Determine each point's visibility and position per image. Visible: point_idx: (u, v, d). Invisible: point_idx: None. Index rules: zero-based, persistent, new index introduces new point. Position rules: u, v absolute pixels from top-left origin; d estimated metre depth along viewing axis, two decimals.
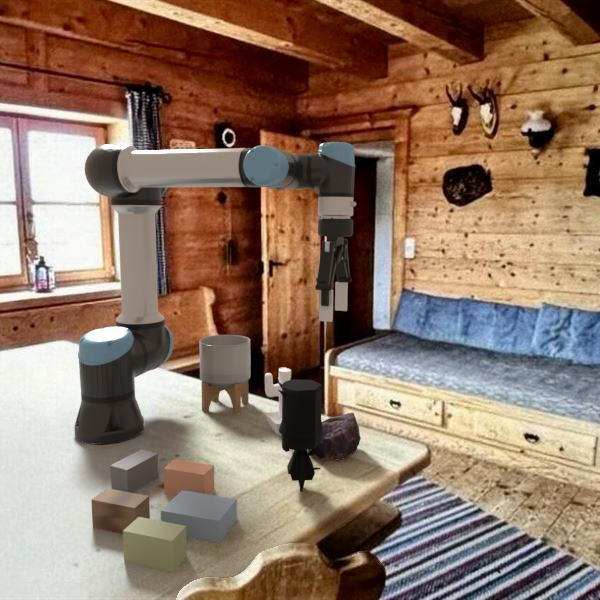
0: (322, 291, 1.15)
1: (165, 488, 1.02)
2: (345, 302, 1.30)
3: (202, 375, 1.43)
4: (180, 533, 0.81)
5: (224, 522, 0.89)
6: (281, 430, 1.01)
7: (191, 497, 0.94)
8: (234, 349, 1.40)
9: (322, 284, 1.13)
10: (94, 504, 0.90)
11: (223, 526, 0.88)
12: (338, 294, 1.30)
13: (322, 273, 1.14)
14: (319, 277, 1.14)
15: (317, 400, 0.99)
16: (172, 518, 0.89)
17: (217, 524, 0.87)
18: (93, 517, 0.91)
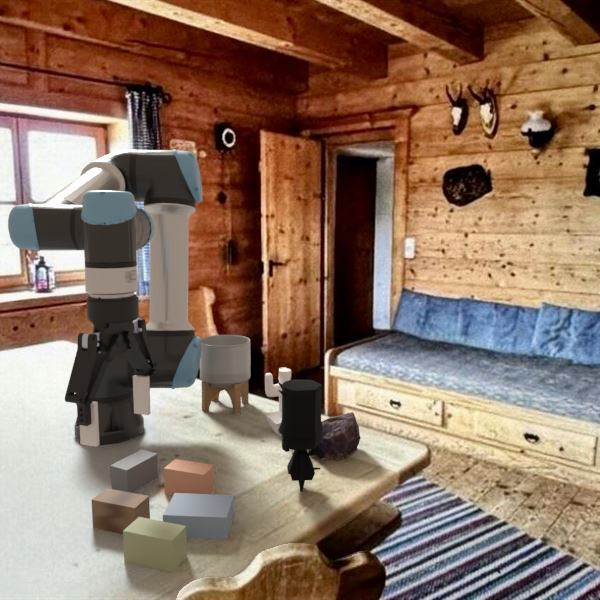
0: (78, 405, 0.80)
1: (165, 488, 1.02)
2: (146, 403, 0.94)
3: (202, 375, 1.43)
4: (180, 533, 0.81)
5: (228, 518, 0.90)
6: (281, 430, 1.01)
7: (187, 498, 0.93)
8: (234, 349, 1.40)
9: (72, 398, 0.78)
10: (94, 504, 0.90)
11: (228, 522, 0.89)
12: (137, 392, 0.95)
13: (74, 381, 0.79)
14: (69, 387, 0.79)
15: (317, 400, 0.99)
16: (175, 521, 0.88)
17: (225, 521, 0.88)
18: (93, 517, 0.91)
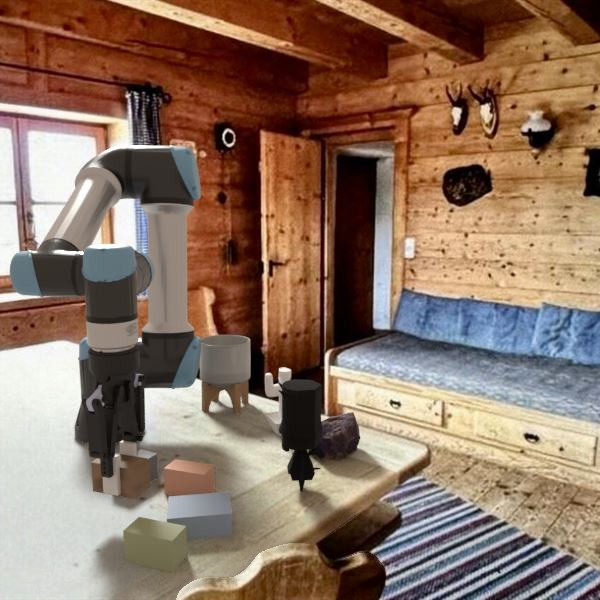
0: (101, 459, 0.87)
1: (165, 488, 1.02)
2: None
3: (202, 375, 1.43)
4: (180, 533, 0.81)
5: None
6: (281, 430, 1.01)
7: (184, 500, 0.93)
8: (234, 349, 1.40)
9: (96, 456, 0.85)
10: (94, 467, 0.90)
11: None
12: None
13: (93, 442, 0.84)
14: (90, 446, 0.84)
15: (317, 400, 0.99)
16: (180, 523, 0.88)
17: (230, 517, 0.89)
18: (93, 480, 0.90)
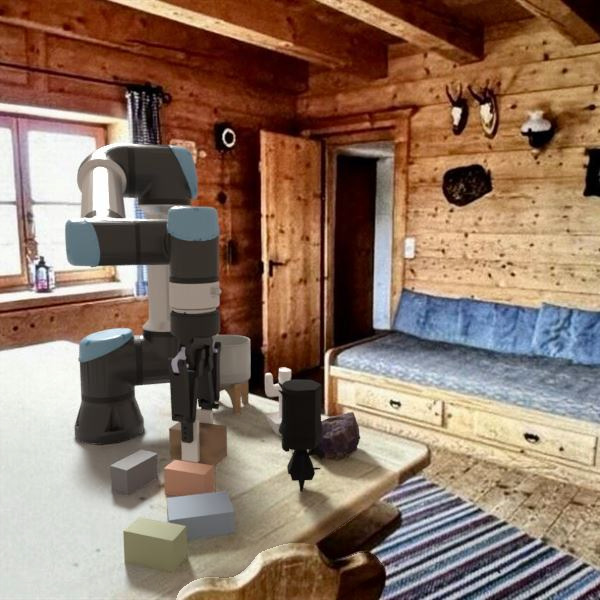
0: (182, 424, 0.85)
1: (165, 488, 1.02)
2: None
3: None
4: (180, 533, 0.81)
5: None
6: (281, 430, 1.01)
7: (183, 501, 0.92)
8: (234, 349, 1.40)
9: (179, 419, 0.83)
10: (172, 433, 0.88)
11: None
12: None
13: (176, 405, 0.83)
14: (173, 409, 0.83)
15: (317, 400, 0.99)
16: (182, 524, 0.87)
17: (232, 515, 0.89)
18: (170, 447, 0.89)
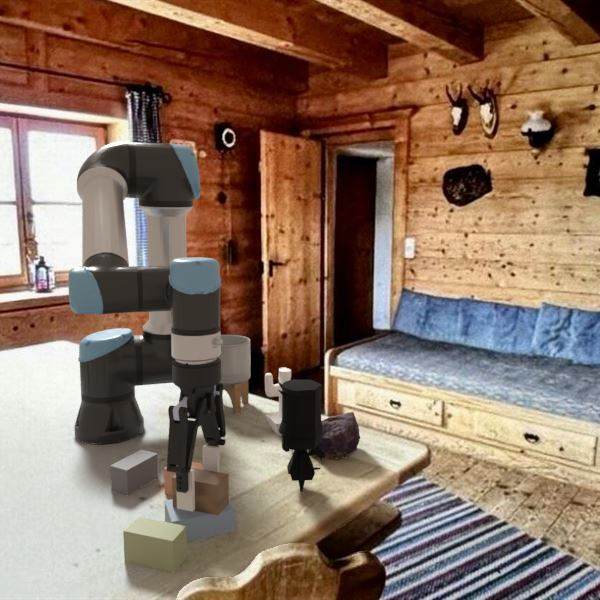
0: (177, 473, 0.85)
1: (165, 488, 1.02)
2: None
3: None
4: (180, 533, 0.81)
5: None
6: (281, 430, 1.01)
7: None
8: (234, 349, 1.40)
9: (173, 469, 0.83)
10: (175, 482, 0.90)
11: None
12: (207, 462, 0.94)
13: (173, 454, 0.83)
14: (169, 459, 0.83)
15: (317, 400, 0.99)
16: (184, 525, 0.87)
17: (234, 513, 0.90)
18: (173, 495, 0.90)
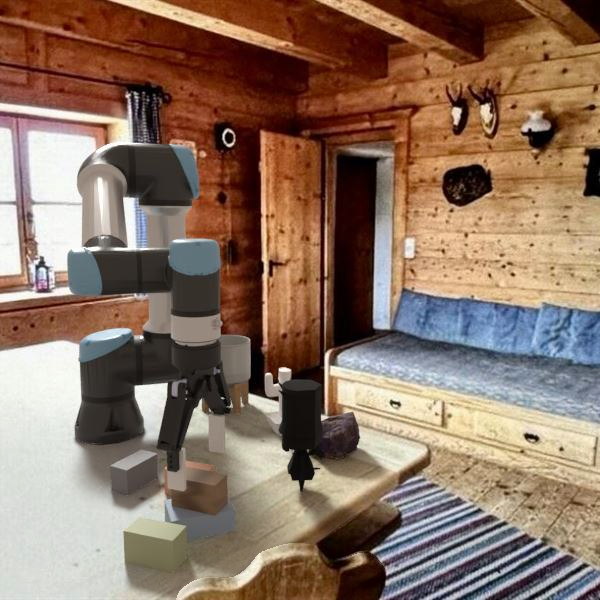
0: (168, 452, 0.82)
1: (165, 488, 1.02)
2: (221, 442, 0.96)
3: None
4: (180, 533, 0.81)
5: None
6: (281, 430, 1.01)
7: None
8: (234, 349, 1.40)
9: (164, 446, 0.80)
10: None
11: None
12: (212, 430, 0.96)
13: (165, 430, 0.81)
14: (161, 435, 0.81)
15: (317, 400, 0.99)
16: (184, 524, 0.87)
17: (233, 513, 0.90)
18: (172, 494, 0.90)
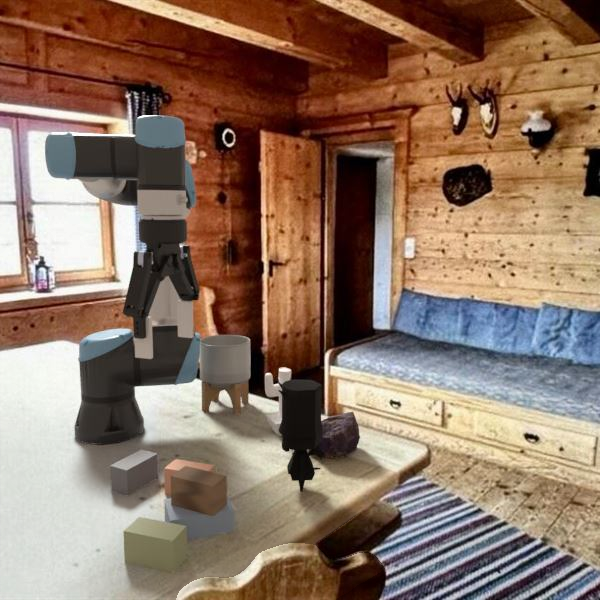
0: (134, 319, 0.85)
1: (165, 488, 1.02)
2: (190, 327, 1.00)
3: (202, 375, 1.43)
4: (181, 533, 0.81)
5: None
6: (281, 430, 1.01)
7: None
8: (234, 349, 1.40)
9: (130, 310, 0.83)
10: (173, 481, 0.90)
11: None
12: (181, 316, 1.00)
13: (131, 296, 0.84)
14: (127, 300, 0.84)
15: (317, 400, 0.99)
16: (183, 524, 0.87)
17: (232, 513, 0.90)
18: (172, 493, 0.91)
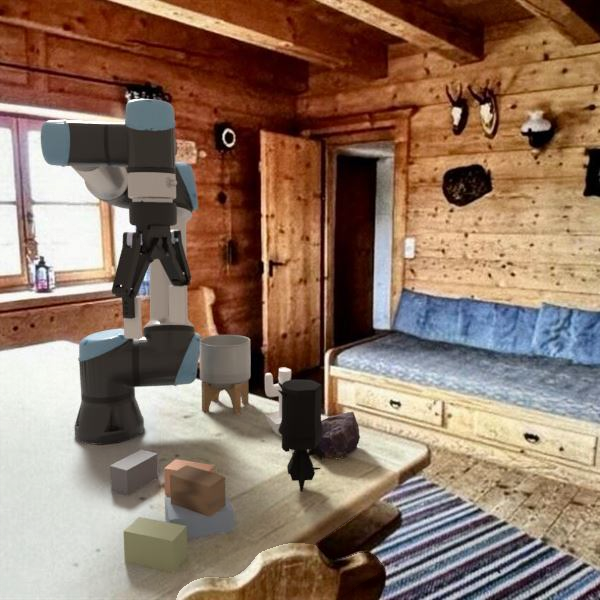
0: (123, 298, 0.86)
1: (165, 488, 1.02)
2: (181, 312, 1.00)
3: (202, 375, 1.43)
4: (181, 533, 0.81)
5: None
6: (281, 430, 1.01)
7: None
8: (234, 349, 1.40)
9: (118, 289, 0.84)
10: (172, 479, 0.91)
11: None
12: (172, 301, 1.00)
13: (120, 275, 0.85)
14: (116, 280, 0.85)
15: (317, 400, 0.99)
16: (182, 523, 0.88)
17: (232, 513, 0.90)
18: (171, 492, 0.91)
